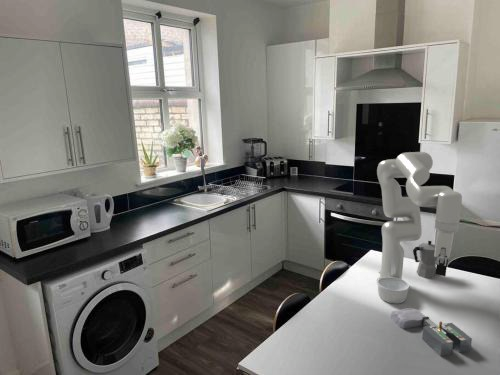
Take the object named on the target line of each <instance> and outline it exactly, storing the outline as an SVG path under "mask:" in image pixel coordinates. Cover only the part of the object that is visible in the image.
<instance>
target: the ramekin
mask: <svg viewBox="0 0 500 375" xmlns="http://www.w3.org/2000/svg"><path fill="white" fill-rule="evenodd" d="M376 285H377V293H378V297H380V299H381V300H382V301H384V302H387V303H389V304H390V303H391V304H401V303H403V302H405V301H406V300H407V297H408V292H409V290H410V285H409V283H408V282H407V281H405V280H403V279H399V278H395V277H383V278H380V279H379V280H378V282H377V281H376Z"/></svg>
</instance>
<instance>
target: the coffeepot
mask: <svg viewBox="0 0 500 375" xmlns="http://www.w3.org/2000/svg"><path fill="white" fill-rule="evenodd" d="M432 242H433V241H432V240H428V241H427V242H426V243H424V242H423V243H420V244H419V245H418V246H415V247H414V248H413V249H412V253H413V254H412V255H413V258H414V262H416V263H418V266H417V269H416V274H417V276H419V277H421V278H424V279H434V278H436V277H437V276H438V275H436V265H437V263H436V261H438V257H435V256H434V253H435V244H434V243H432ZM418 251H419V258H420V259H419V258H418ZM418 259H419V260H418Z"/></svg>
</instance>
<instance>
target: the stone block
mask: <svg viewBox="0 0 500 375" xmlns="http://www.w3.org/2000/svg"><path fill="white" fill-rule="evenodd" d="M423 317H427V316H426V315H425V314H423V313H422V312H421V311H420V310H418V309H416V308H412V307H408V308H402V309H398V310H392V311H391V312H390V319H391V320H392V321H393V323H395V324H396V325H398V327H400V328H402V329H403V330H406V329H411V328H415V327H420V326H421V327H422V326H423V325H422V318H423Z"/></svg>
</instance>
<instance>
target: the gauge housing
mask: <svg viewBox="0 0 500 375" xmlns="http://www.w3.org/2000/svg"><path fill="white" fill-rule="evenodd" d="M442 330H443V331H444V332H445V333H447V336H446V335H445V334H444V333H443V332H442V331H440V330H439V329H437V327H435V326H434V325H431V326H423V327H422V337H421V339H422V340H423V342H424V343H426V344H427V345H428V346H429V347H430V348H431V349H432V350H434V352H435V353H436V354H437V355H439V357H444V356H450V355H452V353H453V349H454V350H455V351H457V353H459V354H462V353H467V352H471V350H472V349H471V347H472V342H473V341H472V340H473V338H472V337H471V336H469V334H467V333H466V332H464V330H462V329H460V328H459V327H458V326H456V325H455V324H454V323H453V322H448V323H446V322H444V323H442Z"/></svg>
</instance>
